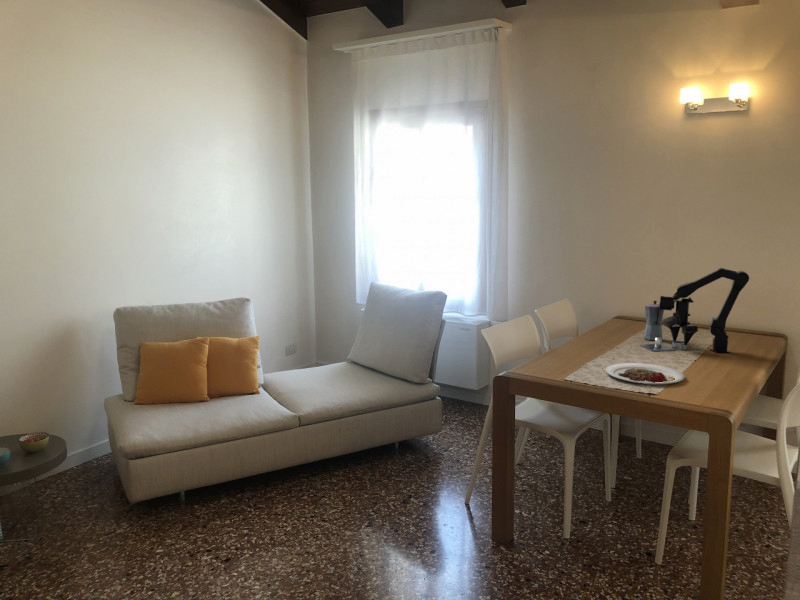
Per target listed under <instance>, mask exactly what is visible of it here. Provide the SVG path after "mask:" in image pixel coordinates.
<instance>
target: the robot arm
mask: <svg viewBox="0 0 800 600" xmlns="http://www.w3.org/2000/svg"><path fill="white" fill-rule="evenodd" d="M721 278H724V279H729V280H730V281H731V287H730V290H729V291H728V294H727V296H726V298H725V301H723V302H724V303H723V305H722V307H721V309H720V311H719V313H718V315H717V316H716V317H714V316H712V318H711V322H710V323H709V324H708V326H709V331H710V334H711V335H712V336H714V337H713V339H712V348H709V351H711V352H714V353H717V354H725V353H731V351H730V350H728V347H729V346H728V344H729V340H728V339H729V334H728V332H727V331H726V325H727V320H728V317H729V315H730V313H731V311H732V309H733V307H734V306H735V303H736V300H737V298H738V296H739V295H740V293H741V291H742V290H743V289H744V288H745V287H746V285H747V284H748V282H749V281H750V275H749V274H748V273H747V272H746V271H744V270H738V271H735V270H732V269H726V268H723V267H720V268H718V269H716V270H715V271H712V272H711V273H710V272H709V273H708V274H706V275H703V276H702V277H700V278H699V279H696V280H694V281H693V280H692V281H691V282H690V281H689V282H685V283H683V284H680V285H679V286H677V288H676V292H675V293H674V294H673V295H672V296H666V295H665V296H664V295H660V297H659V298H660V299H659V304H658V305H659V310H664V311H672V310H674V309H675V312H673V313H672V316H668V317H666V318H663V319H662V321H663V324H664V326H665V327H667V328H668V329H669V331H670V332H671V337H672V342H673V341H677V339H678V335H679V333H680V330H681V333H682V334H683V341H684V345H687V346H688V344H689V342H690V341H691V339H692V338H693V336H694V335H695V334H696V333H697V332H699V327H698V325H695V324H691V322H689V317H691V313H689V309H690V304H692V303H694V302H695V301H694V300H693V299H692V298H691V295H693V294H694V293H695V292H696V291H697V290H699V289H700V288H703V287H706V286H707V285H708V284H712V282H714V281H717V280H719V279H721Z"/></svg>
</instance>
